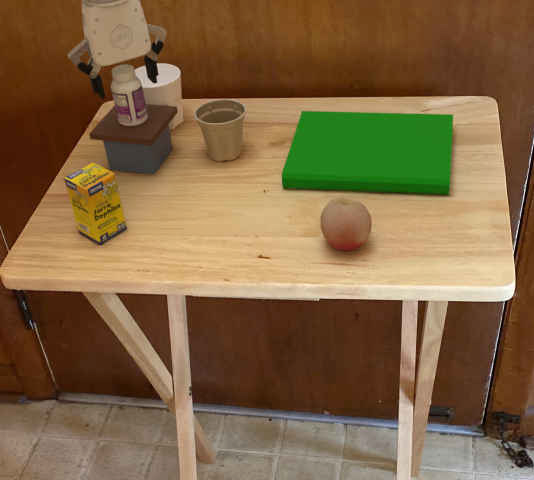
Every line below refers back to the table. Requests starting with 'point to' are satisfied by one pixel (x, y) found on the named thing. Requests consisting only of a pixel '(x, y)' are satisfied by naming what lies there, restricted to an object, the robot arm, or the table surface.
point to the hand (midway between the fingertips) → (127, 88)
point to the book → (371, 152)
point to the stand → (137, 140)
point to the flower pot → (222, 127)
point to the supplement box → (96, 203)
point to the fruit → (345, 224)
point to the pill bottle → (128, 96)
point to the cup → (163, 89)
